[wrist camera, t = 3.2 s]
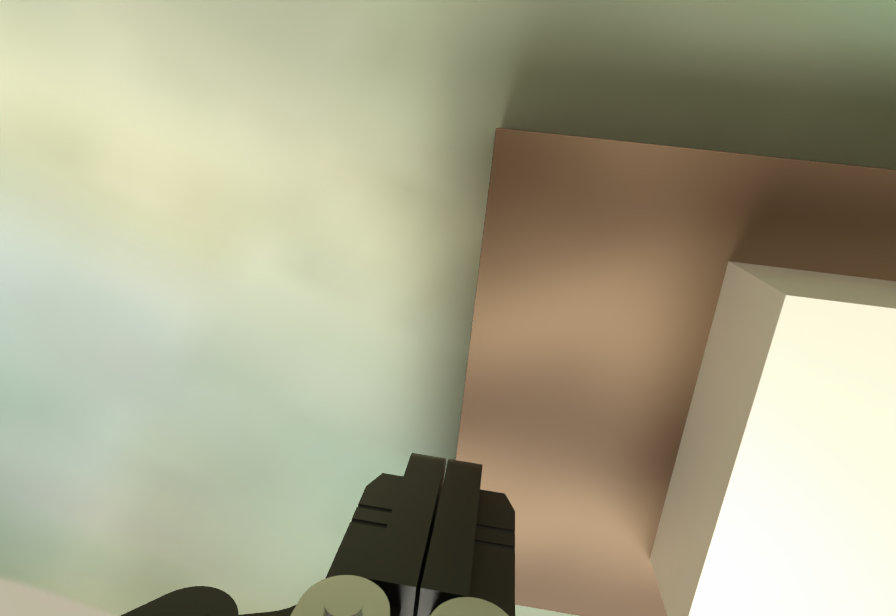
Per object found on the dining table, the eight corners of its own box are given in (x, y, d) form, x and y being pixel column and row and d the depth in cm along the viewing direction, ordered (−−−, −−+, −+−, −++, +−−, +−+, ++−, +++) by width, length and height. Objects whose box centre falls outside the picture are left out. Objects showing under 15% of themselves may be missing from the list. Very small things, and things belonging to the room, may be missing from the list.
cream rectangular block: (728, 261, 13) (786, 294, 11) (991, 293, 13) (1125, 337, 10) (649, 559, 16) (678, 649, 13) (863, 594, 16) (940, 695, 13)
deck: (500, 129, 17) (496, 127, 13) (1217, 205, 15) (1447, 228, 12) (453, 509, 21) (439, 591, 17) (1008, 599, 20) (1126, 710, 16)
